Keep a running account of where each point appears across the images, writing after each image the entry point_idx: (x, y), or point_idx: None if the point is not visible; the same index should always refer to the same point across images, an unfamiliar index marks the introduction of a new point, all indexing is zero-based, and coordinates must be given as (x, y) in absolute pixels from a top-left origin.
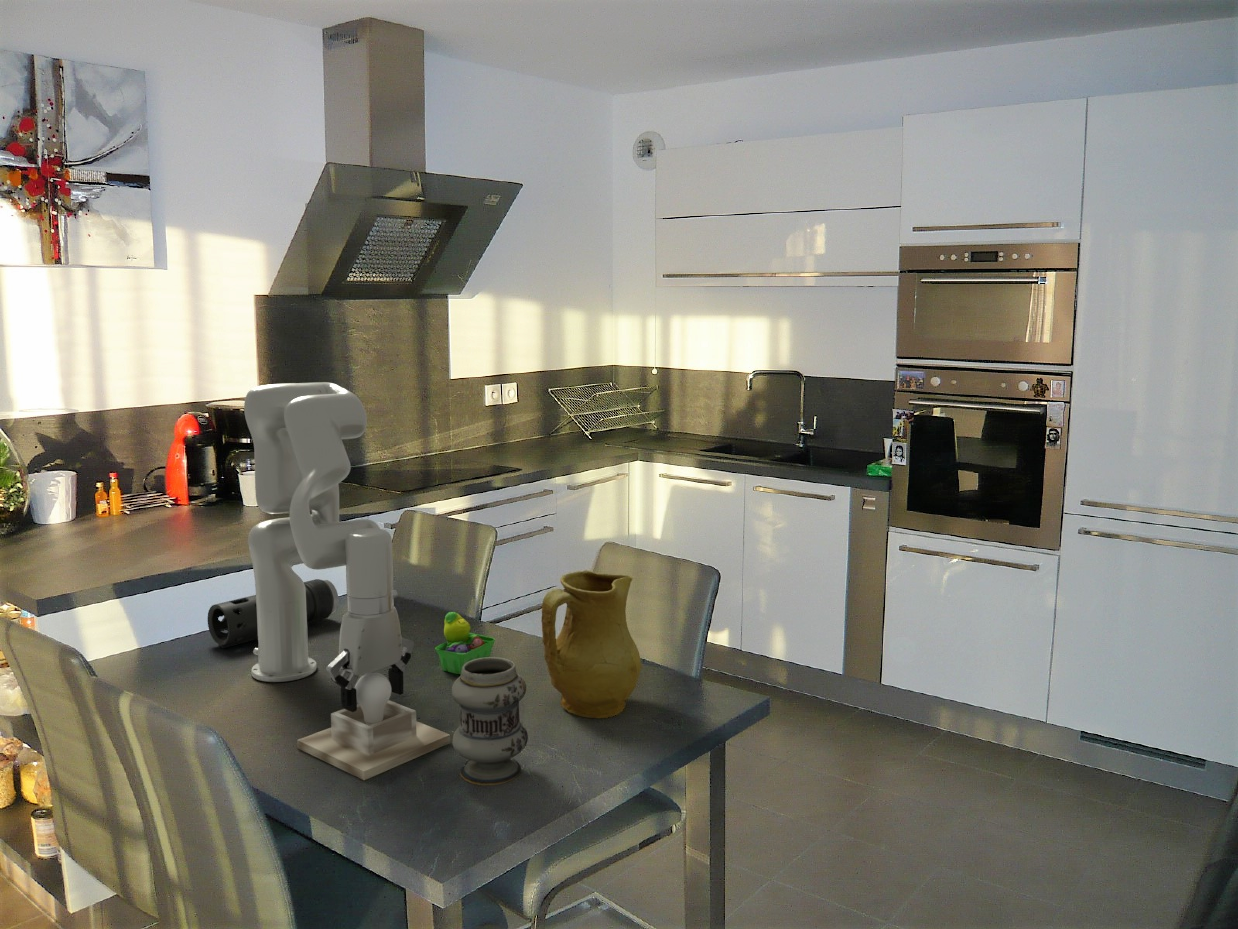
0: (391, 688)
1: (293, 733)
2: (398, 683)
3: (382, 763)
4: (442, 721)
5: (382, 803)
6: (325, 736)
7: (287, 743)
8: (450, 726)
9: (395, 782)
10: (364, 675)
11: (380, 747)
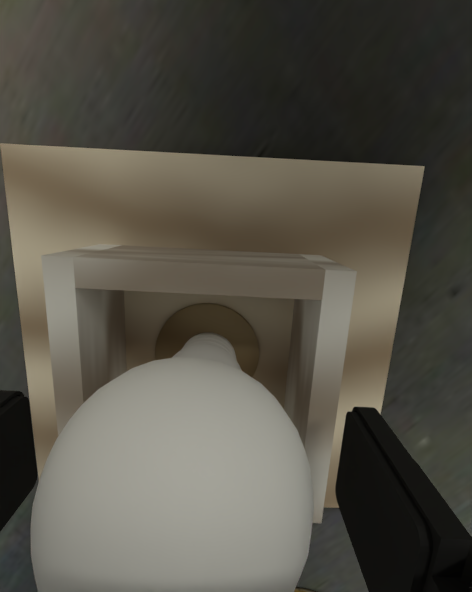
0: (350, 445)
1: (81, 6)
2: (360, 555)
3: None
4: (469, 370)
5: (23, 574)
6: (95, 207)
7: (18, 75)
8: (449, 414)
9: None
10: (89, 583)
11: None
